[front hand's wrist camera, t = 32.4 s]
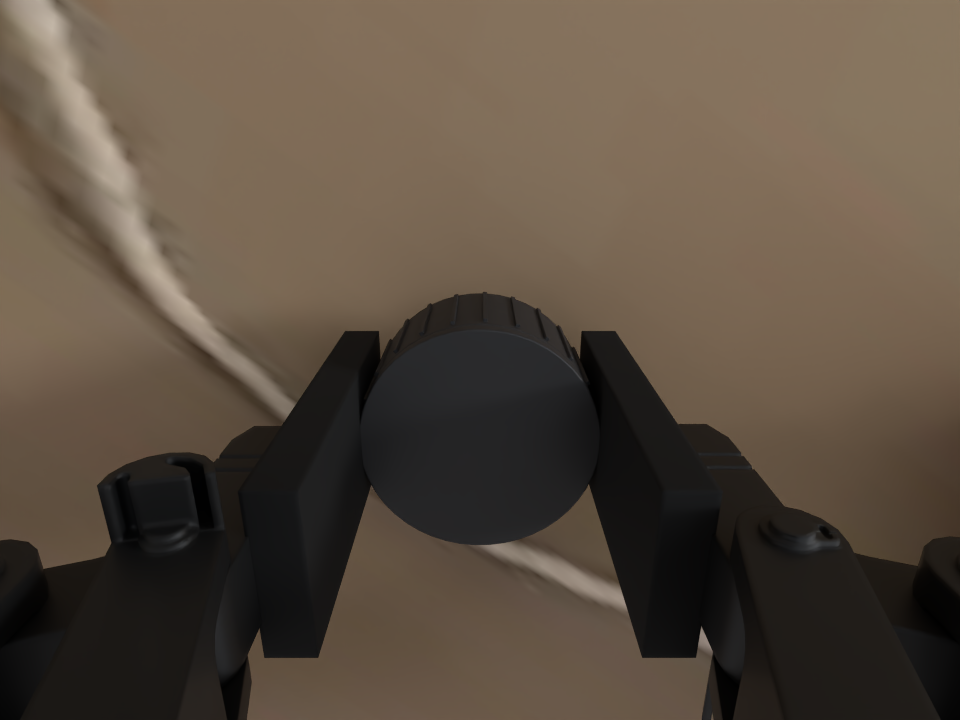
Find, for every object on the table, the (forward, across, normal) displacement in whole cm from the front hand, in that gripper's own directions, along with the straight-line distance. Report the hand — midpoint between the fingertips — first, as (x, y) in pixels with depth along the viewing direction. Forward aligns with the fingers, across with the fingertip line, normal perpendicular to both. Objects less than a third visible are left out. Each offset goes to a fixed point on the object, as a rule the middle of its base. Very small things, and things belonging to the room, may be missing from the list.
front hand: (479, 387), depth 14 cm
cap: (0, 0, 0) cm, 0 cm away
